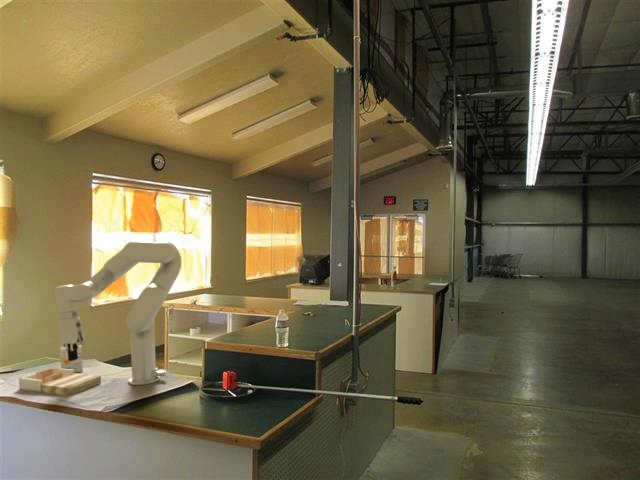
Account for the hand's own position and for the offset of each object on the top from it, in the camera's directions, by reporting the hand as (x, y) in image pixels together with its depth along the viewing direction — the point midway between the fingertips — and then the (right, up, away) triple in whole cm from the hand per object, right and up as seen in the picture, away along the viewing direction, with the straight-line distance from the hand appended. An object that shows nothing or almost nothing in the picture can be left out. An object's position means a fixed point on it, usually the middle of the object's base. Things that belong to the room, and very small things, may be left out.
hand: (73, 359), depth 201 cm
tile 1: (-13, -8, +4) cm, 16 cm away
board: (-1, -11, 0) cm, 11 cm away
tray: (-13, -12, +5) cm, 18 cm away
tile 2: (-10, -10, +4) cm, 15 cm away
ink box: (-12, -11, +22) cm, 28 cm away
